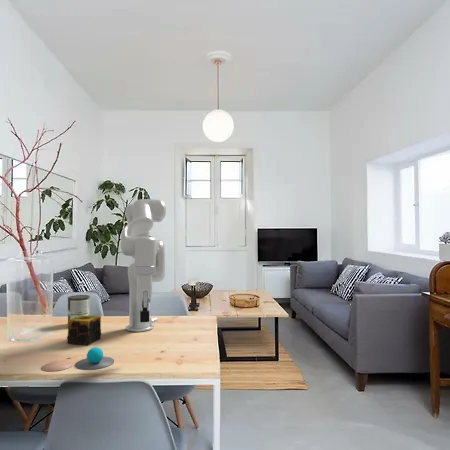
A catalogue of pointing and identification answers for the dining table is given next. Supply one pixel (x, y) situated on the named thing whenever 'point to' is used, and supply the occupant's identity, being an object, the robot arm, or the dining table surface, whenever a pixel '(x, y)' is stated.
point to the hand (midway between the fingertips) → (144, 321)
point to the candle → (84, 330)
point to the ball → (94, 355)
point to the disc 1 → (57, 366)
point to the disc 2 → (86, 365)
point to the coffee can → (78, 306)
